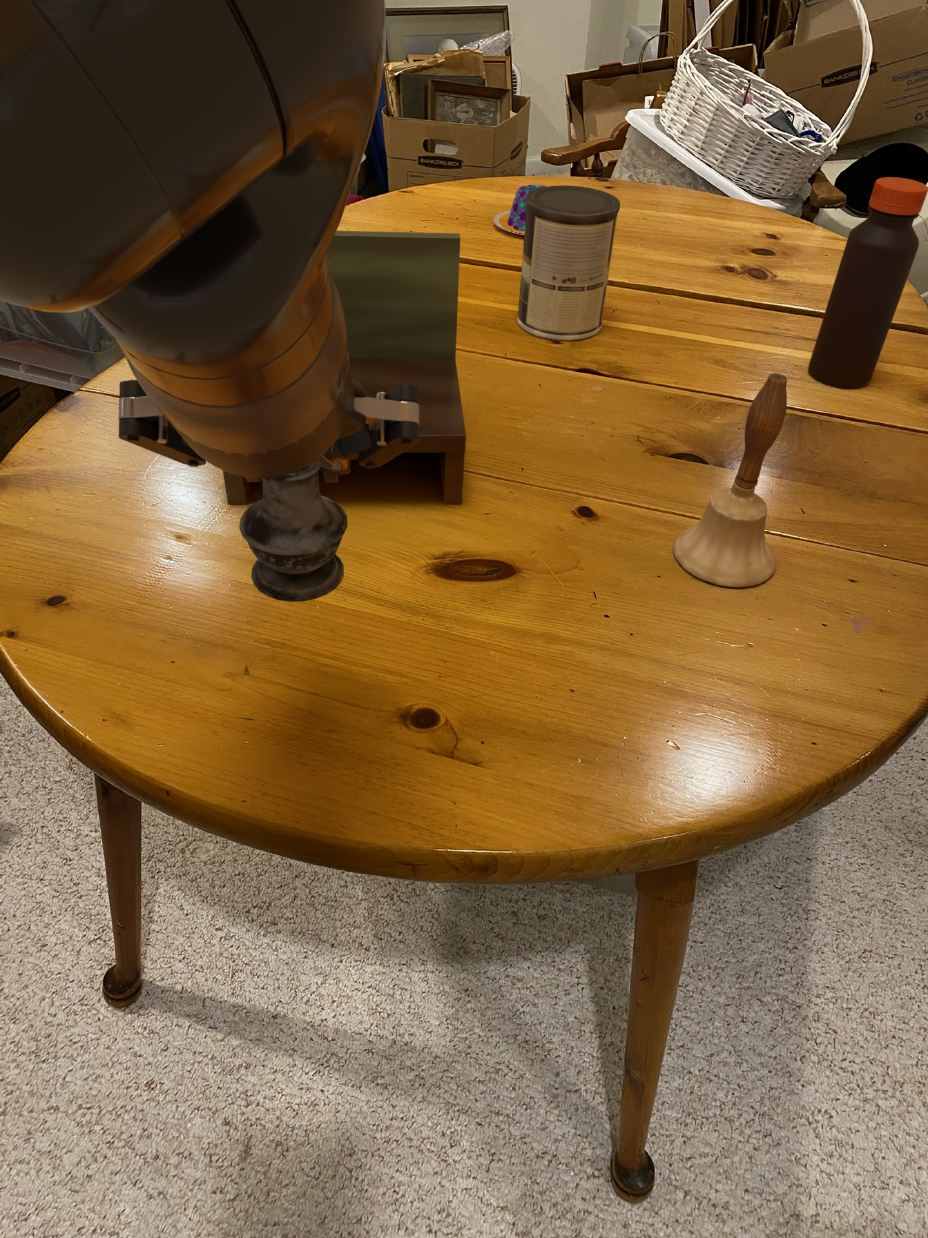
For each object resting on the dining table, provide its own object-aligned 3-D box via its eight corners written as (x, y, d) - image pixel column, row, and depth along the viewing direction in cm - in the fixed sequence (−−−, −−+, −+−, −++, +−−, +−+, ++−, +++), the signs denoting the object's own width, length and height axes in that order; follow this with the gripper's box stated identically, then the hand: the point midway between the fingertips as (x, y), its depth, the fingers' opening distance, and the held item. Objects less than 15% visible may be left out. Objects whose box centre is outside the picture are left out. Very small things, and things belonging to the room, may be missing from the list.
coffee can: (499, 315, 111) (507, 191, 102) (567, 300, 115) (581, 180, 106) (550, 348, 105) (564, 219, 95) (620, 331, 109) (640, 206, 100)
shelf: (462, 507, 80) (472, 303, 68) (226, 507, 78) (195, 298, 66) (452, 420, 91) (459, 232, 79) (246, 419, 89) (222, 227, 78)
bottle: (873, 393, 100) (945, 197, 87) (809, 384, 100) (870, 190, 87) (866, 366, 105) (932, 177, 92) (804, 358, 105) (861, 170, 92)
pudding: (568, 245, 130) (572, 206, 127) (485, 235, 132) (487, 196, 129) (579, 219, 139) (584, 182, 136) (502, 210, 141) (504, 173, 138)
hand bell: (713, 516, 80) (759, 341, 70) (795, 562, 76) (858, 382, 65) (652, 551, 76) (692, 371, 65) (735, 602, 71) (792, 417, 61)
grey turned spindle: (364, 554, 55) (359, 364, 47) (326, 614, 50) (314, 417, 42) (272, 534, 56) (253, 345, 48) (227, 592, 51) (198, 394, 44)
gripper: (438, 256, 34) (421, 399, 52) (46, 245, 33) (162, 395, 50) (439, 454, 34) (422, 532, 51) (41, 449, 33) (160, 531, 50)
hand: (292, 463), depth 51 cm, fingers closed on grey turned spindle, 3 cm apart
